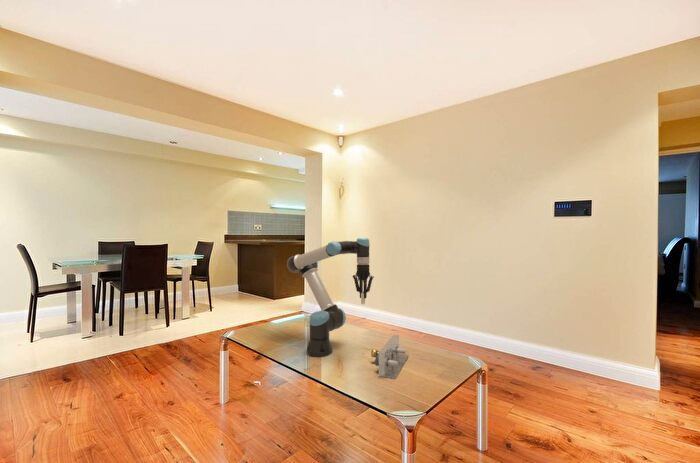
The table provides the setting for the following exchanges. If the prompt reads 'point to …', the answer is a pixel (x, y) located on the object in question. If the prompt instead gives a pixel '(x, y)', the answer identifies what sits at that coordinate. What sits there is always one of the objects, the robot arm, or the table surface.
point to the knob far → (400, 350)
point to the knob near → (389, 362)
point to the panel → (391, 358)
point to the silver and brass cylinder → (374, 353)
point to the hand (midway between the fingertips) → (363, 303)
